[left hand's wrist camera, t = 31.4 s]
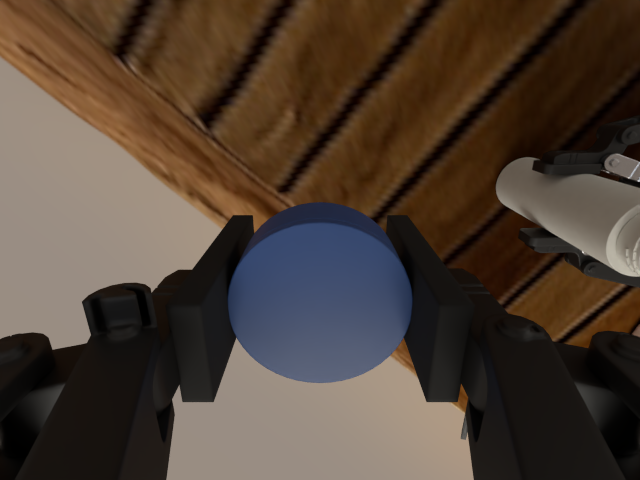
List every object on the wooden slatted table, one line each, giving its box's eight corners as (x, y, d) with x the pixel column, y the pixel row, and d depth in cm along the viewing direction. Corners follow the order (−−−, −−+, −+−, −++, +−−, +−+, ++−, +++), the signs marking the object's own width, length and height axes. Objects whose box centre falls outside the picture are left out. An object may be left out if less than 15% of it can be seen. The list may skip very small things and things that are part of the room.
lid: (428, 292, 12) (447, 326, 10) (305, 366, 13) (303, 409, 11) (337, 167, 11) (341, 181, 9) (208, 263, 12) (187, 294, 10)
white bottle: (491, 208, 34) (618, 290, 19) (501, 156, 32) (649, 205, 18) (541, 209, 34) (706, 292, 19) (554, 157, 32) (746, 207, 18)
